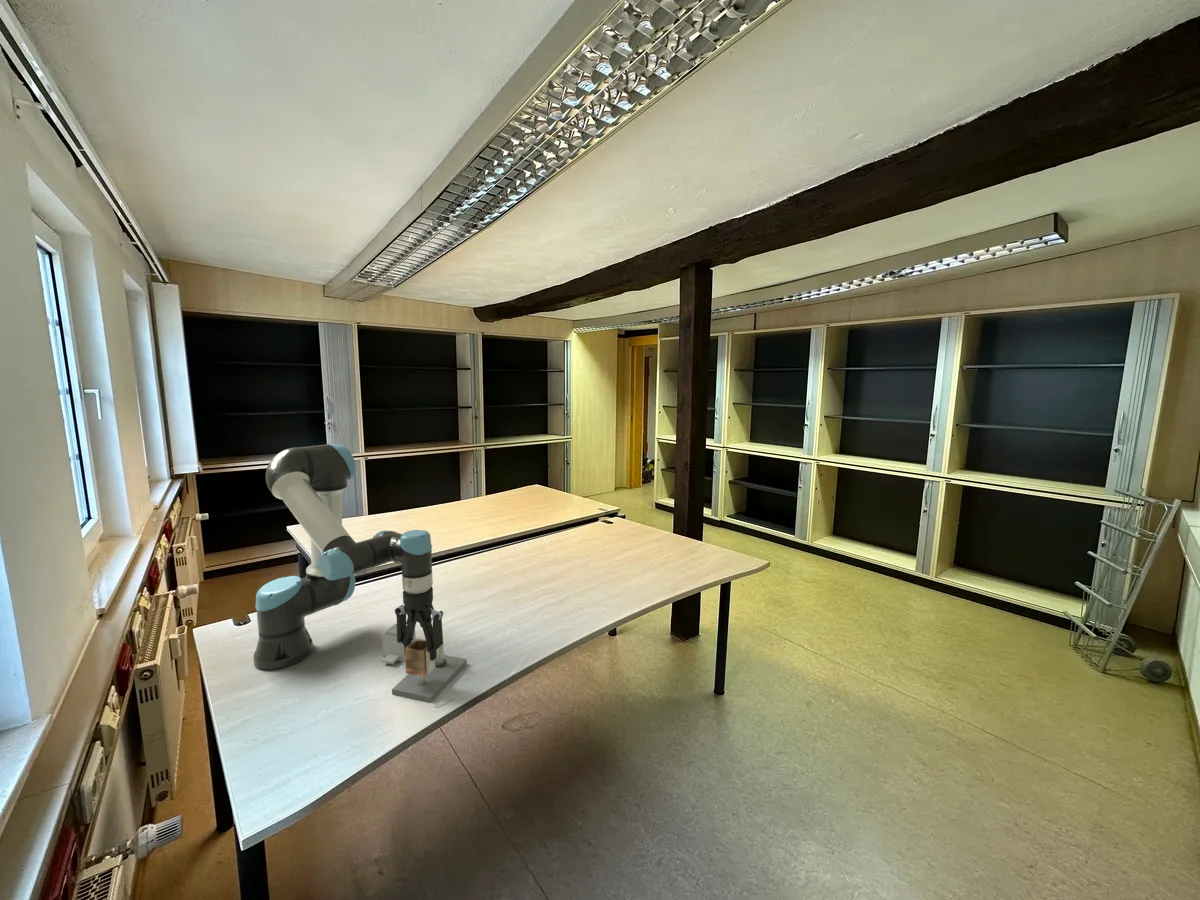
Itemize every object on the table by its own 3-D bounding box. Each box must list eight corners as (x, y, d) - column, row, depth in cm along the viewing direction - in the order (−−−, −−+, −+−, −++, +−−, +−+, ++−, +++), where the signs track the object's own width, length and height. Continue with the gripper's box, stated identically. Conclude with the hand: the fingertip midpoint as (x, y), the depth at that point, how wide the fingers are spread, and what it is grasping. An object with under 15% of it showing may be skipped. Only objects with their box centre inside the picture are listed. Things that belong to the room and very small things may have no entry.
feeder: (376, 663, 139) (374, 636, 138) (394, 649, 146) (393, 623, 145) (398, 668, 137) (397, 640, 136) (416, 653, 144) (415, 626, 143)
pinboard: (392, 694, 125) (390, 665, 124) (431, 657, 142) (431, 631, 141) (430, 702, 122) (429, 672, 121) (466, 663, 139) (466, 637, 138)
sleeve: (406, 673, 125) (405, 649, 124) (418, 662, 130) (417, 638, 129) (423, 676, 124) (422, 652, 123) (435, 665, 129) (434, 641, 128)
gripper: (378, 589, 123) (383, 670, 126) (439, 598, 118) (442, 682, 121) (397, 578, 130) (401, 655, 133) (456, 586, 125) (458, 665, 128)
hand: (421, 668), depth 127 cm, fingers closed on sleeve, 5 cm apart
